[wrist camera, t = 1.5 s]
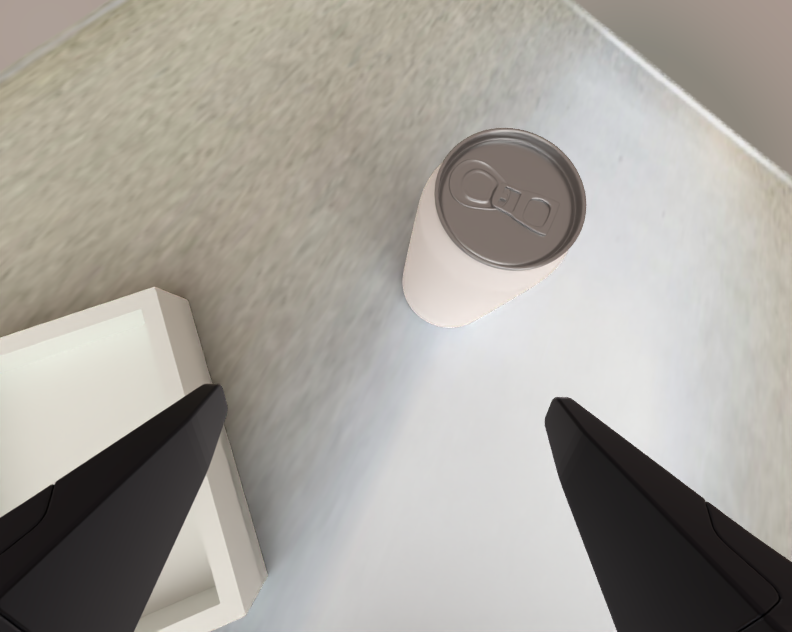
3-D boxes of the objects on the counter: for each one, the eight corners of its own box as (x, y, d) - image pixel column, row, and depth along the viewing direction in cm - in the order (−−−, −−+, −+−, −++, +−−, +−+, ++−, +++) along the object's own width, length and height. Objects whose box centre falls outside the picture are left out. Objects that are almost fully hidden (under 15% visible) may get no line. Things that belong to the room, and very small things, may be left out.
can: (425, 225, 25) (467, 90, 13) (506, 264, 25) (622, 162, 13) (385, 303, 24) (391, 231, 12) (470, 345, 24) (561, 313, 12)
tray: (268, 575, 21) (245, 616, 17) (22, 682, 19) (-56, 749, 16) (187, 299, 23) (154, 286, 20) (-34, 374, 22) (-111, 374, 18)
